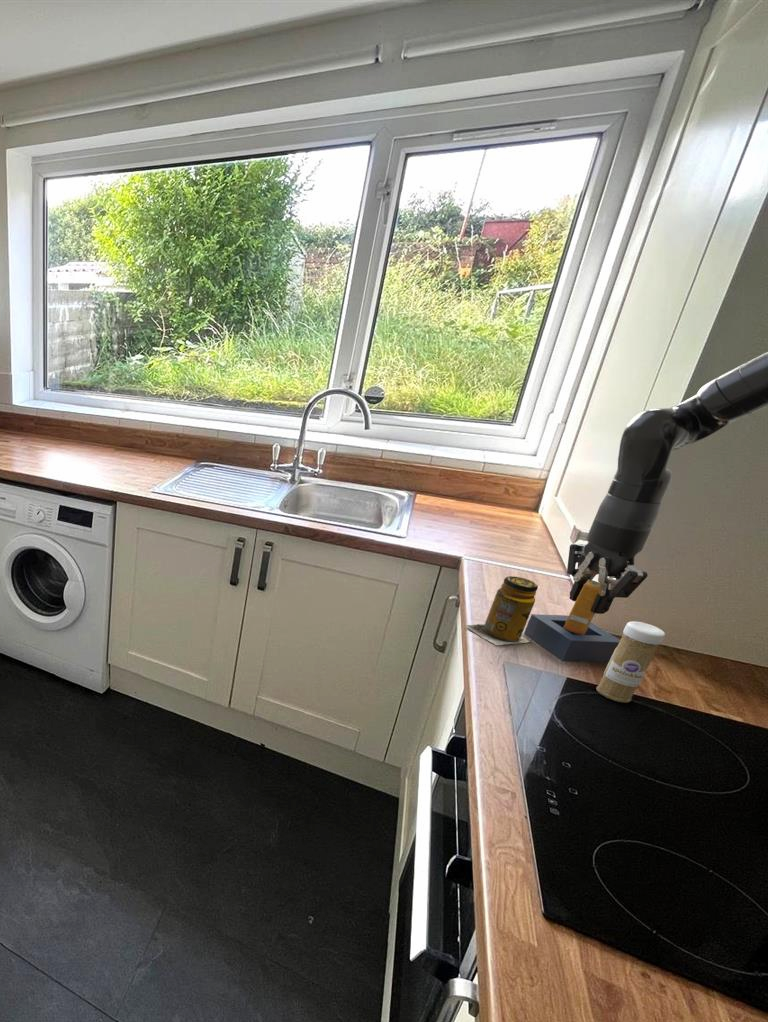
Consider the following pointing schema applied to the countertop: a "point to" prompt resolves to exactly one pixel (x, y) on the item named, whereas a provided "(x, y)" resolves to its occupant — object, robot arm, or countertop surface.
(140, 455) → the countertop surface
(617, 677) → the sprinkles bottle
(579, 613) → the supplement box
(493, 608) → the condiment
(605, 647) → the socket block
